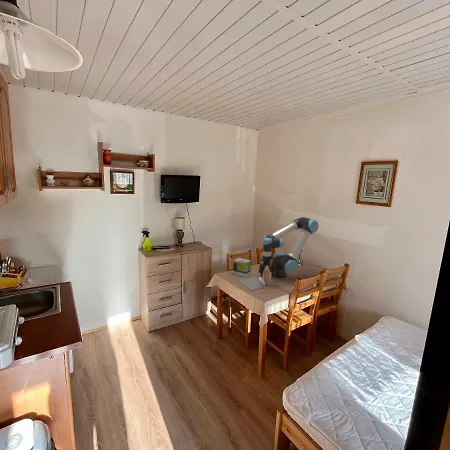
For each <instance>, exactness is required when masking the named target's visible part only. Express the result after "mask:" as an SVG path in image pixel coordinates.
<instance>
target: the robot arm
mask: <svg viewBox="0 0 450 450" xmlns="http://www.w3.org/2000/svg"><path fill="white" fill-rule="evenodd" d="M319 226H320V225H319V222H318V221H317V220H316V219H314V218H309V217H303V216H302V217H298V218H295V219H294V220H292V221H290V223H289V224H287V225H286V226H283V227H282V228H280V229H278V230H276V231H275V232H272V233H271V234H269V235H268V234H265V235H264V236H263V237H262V261H259V267H258V268H259V269H258V273H259V274H260V276H261V280H262V281H264V270H266V267H268V279H269V280H271V279H272V278H275V279H284V278H286V277H287V272H289V273H292V272H295V270H297V267H298V257H299V255H300V253H301V252H302V250H303V248H304V246H305V245H306V243H307V240H308V239H309V238H310V236H312V235H313V234H314V233H316V232H317V231H318V230H319V228H320V227H319ZM297 230H300V233H299V234H298V236H297V238H296V240H295V241H294V243H293V244H292V247H291V248H290V251H289V252H288V253H285V252H275V253H273V255H272V249H277V248H282V247H284V245H285V243H284V240H283V239H282V238H284V237H286V235H289V234H291V233H292V232H293V231H297ZM272 258H273V259H272ZM286 271H287V272H286Z"/></svg>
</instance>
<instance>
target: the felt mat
mask: <svg viewBox="0 0 450 450" xmlns="http://www.w3.org/2000/svg"><path fill="white" fill-rule="evenodd" d="M258 276H259V278H261V275H258ZM238 282H240V283H241V284H242V285H243V286H245V288H247V289H248V290H250V291H251V292H252V291H256V290H259V289H264V288H268V287H272V286H274V284H273V283H271V282H270V283H269V285H264V284H262V283H261V282H259V281H258V280H257V276H255V277H250V278H249V277H248V278H245V279H240V280H238Z"/></svg>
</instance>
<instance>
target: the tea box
mask: <svg viewBox="0 0 450 450" xmlns="http://www.w3.org/2000/svg"><path fill="white" fill-rule="evenodd" d="M232 261H233V264H232V265H233V268H232V270H233V273H232V274H233V275H237V276H240V277H244V278H247V277H248V276H250V275H251V274H252V273H251V272H252V266H251V265H252V260H250V259H244V258H241V257H237V258H236V259H234V260H232Z"/></svg>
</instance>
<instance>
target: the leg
mask: <svg viewBox="0 0 450 450" xmlns="http://www.w3.org/2000/svg"><path fill="white" fill-rule="evenodd" d="M263 274H264V281H262V280H261V278H258V281H259V282H261V283H262V284H264V285H269V282H268V280H269V269H264V272H263Z"/></svg>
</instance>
